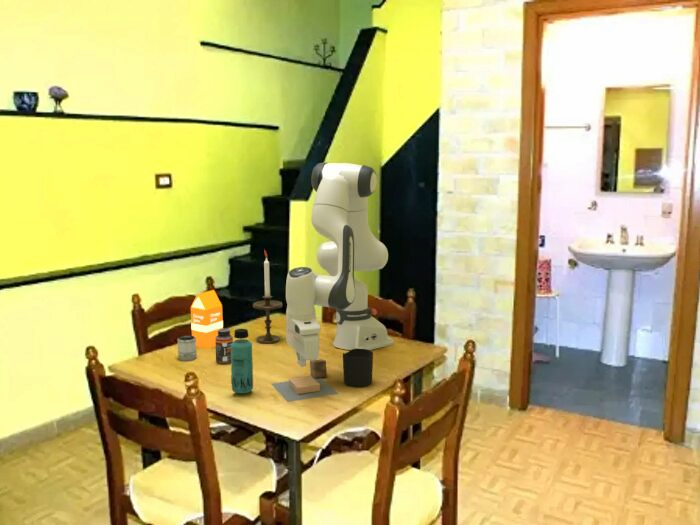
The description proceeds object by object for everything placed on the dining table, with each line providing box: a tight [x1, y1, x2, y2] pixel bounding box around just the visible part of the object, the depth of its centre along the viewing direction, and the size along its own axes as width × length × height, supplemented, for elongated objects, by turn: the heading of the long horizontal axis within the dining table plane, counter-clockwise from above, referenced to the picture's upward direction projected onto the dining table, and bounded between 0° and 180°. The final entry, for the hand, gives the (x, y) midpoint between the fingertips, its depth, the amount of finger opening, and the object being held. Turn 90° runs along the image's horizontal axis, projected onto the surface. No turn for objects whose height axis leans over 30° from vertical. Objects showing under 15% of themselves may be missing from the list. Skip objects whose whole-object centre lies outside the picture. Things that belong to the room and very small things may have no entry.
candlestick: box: [252, 249, 283, 345], centre depth 250 cm, size 11×11×35 cm
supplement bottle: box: [215, 328, 234, 365], centre depth 228 cm, size 6×6×11 cm
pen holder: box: [342, 349, 374, 389], centre depth 206 cm, size 9×9×10 cm
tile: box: [288, 375, 320, 394], centre depth 202 cm, size 7×2×8 cm
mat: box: [271, 377, 339, 403], centre depth 202 cm, size 16×16×1 cm
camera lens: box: [177, 334, 197, 362], centre depth 232 cm, size 6×6×8 cm
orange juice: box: [190, 289, 224, 349], centre depth 247 cm, size 8×9×20 cm
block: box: [309, 358, 328, 378], centre depth 213 cm, size 4×4×5 cm
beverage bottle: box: [230, 328, 254, 394], centre depth 197 cm, size 6×7×20 cm
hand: (301, 365), depth 203 cm, fingers closed
